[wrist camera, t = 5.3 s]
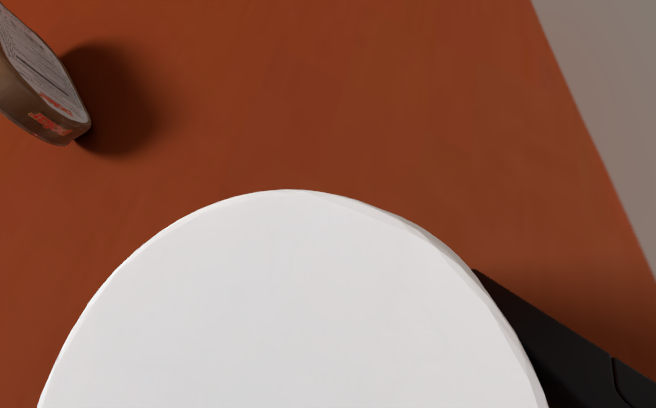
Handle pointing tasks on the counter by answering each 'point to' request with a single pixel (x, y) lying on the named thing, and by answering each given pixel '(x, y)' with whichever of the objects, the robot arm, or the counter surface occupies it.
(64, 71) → the tin
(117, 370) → the supplement bottle
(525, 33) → the counter surface
